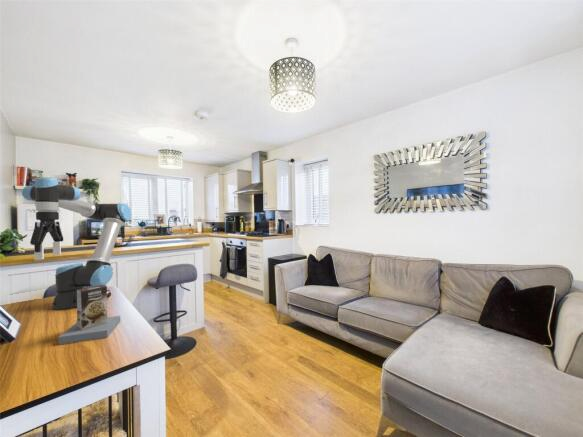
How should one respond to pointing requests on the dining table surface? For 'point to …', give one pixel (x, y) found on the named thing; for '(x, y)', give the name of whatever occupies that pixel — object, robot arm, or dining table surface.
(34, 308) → the dining table surface
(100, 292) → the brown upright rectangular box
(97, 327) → the base board
